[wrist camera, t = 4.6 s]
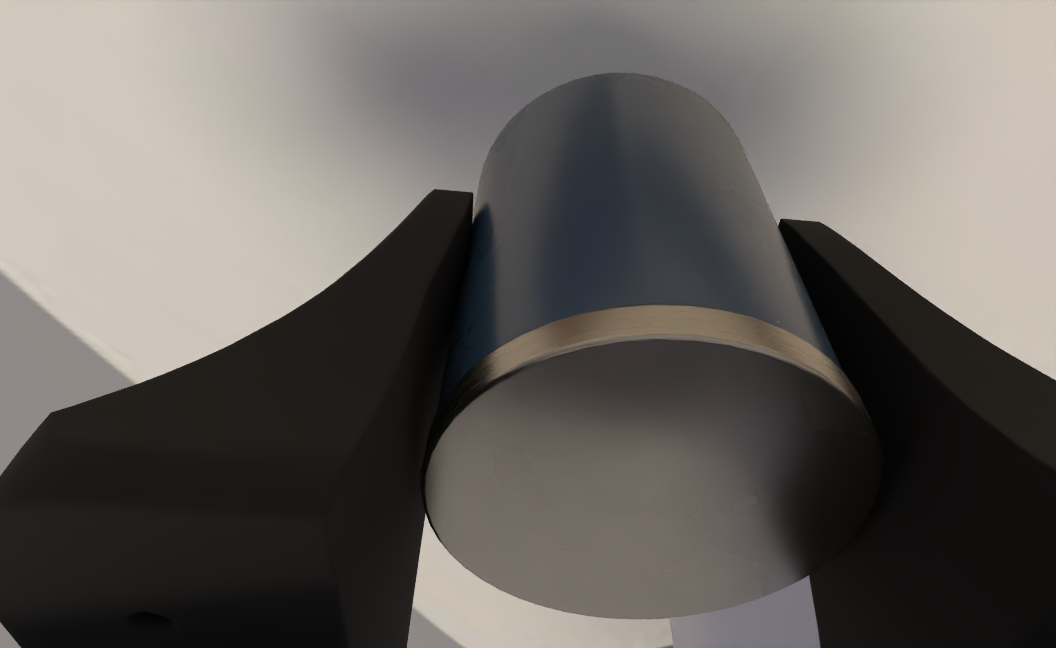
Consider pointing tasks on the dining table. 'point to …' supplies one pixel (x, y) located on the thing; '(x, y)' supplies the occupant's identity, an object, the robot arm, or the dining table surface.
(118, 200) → the dining table surface
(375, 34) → the dining table surface
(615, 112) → the tin
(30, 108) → the dining table surface
